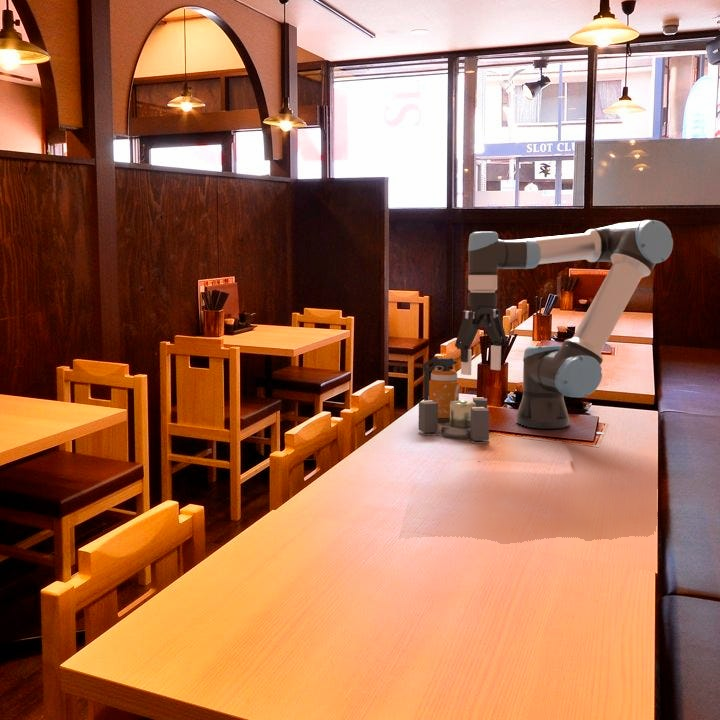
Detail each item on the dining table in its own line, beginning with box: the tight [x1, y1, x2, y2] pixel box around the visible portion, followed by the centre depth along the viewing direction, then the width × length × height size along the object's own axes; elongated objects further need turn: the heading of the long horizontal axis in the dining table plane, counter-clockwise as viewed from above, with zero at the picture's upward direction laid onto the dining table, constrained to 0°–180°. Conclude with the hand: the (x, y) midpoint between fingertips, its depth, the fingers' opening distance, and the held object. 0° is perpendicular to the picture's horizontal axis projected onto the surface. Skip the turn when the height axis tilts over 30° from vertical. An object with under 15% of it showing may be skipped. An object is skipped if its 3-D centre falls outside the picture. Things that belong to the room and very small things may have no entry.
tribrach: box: [418, 399, 490, 445], centre depth 215 cm, size 19×22×10 cm
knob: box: [472, 396, 488, 409], centre depth 222 cm, size 4×4×8 cm
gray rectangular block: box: [470, 407, 490, 441], centre depth 205 cm, size 4×4×8 cm
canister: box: [421, 356, 460, 425], centre depth 230 cm, size 9×11×20 cm
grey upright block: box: [418, 400, 439, 433], centre depth 216 cm, size 4×4×8 cm
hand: (481, 372), depth 204 cm, fingers open, 13 cm apart
